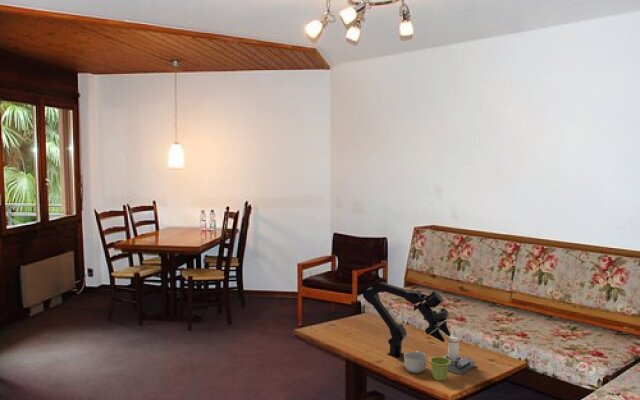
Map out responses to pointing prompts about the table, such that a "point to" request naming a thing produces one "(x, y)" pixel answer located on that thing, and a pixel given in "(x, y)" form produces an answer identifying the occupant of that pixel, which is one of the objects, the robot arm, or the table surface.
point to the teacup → (415, 361)
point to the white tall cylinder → (453, 348)
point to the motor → (460, 365)
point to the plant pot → (440, 368)
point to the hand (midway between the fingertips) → (447, 338)
